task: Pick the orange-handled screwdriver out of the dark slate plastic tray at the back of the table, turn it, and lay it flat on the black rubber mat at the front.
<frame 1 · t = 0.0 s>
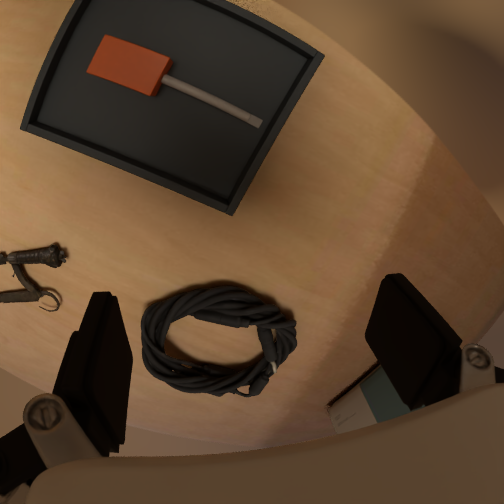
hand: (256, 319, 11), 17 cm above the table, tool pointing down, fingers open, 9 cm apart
screwdriver: (134, 67, 19), point 1 cm above the table, touching tray
tray: (164, 79, 21), on the table
radio: (384, 368, 43), on the table
cable: (218, 332, 34), on the table
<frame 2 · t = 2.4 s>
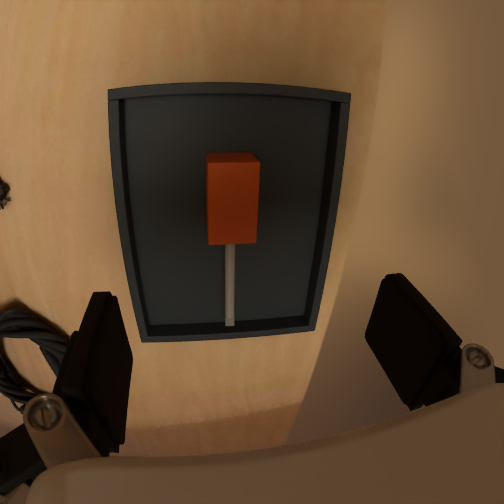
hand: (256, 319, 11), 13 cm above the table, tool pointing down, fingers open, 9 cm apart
screwdriver: (228, 189, 21), point 1 cm above the table, touching tray
tray: (227, 220, 23), on the table
cable: (40, 360, 27), on the table
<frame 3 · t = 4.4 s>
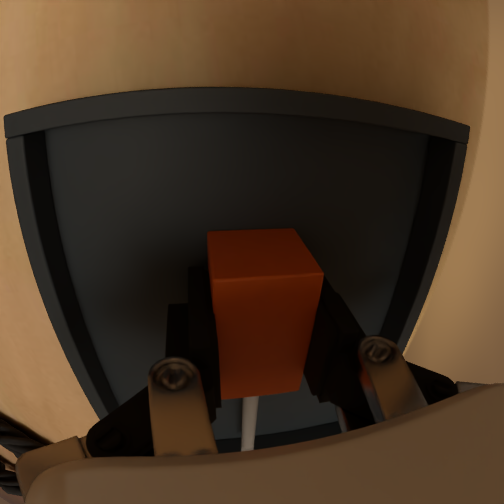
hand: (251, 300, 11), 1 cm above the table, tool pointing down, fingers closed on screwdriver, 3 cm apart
screwdriver: (248, 291, 12), point 1 cm above the table, touching gripper, tray
tray: (244, 330, 14), on the table
cable: (14, 446, 17), on the table
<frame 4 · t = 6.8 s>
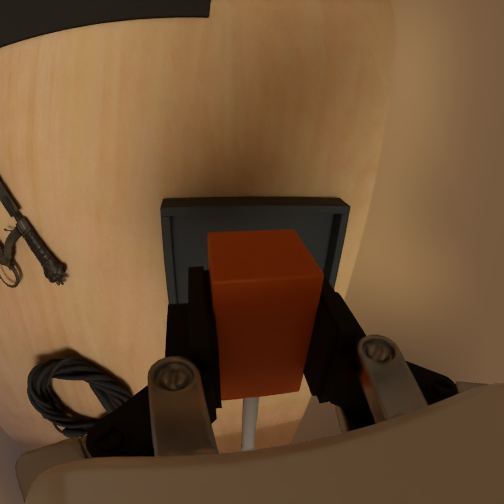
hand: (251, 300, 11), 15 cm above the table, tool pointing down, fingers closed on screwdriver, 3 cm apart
screwdriver: (249, 292, 12), point 14 cm above the table, touching gripper
tray: (250, 295, 30), on the table
cable: (85, 392, 33), on the table
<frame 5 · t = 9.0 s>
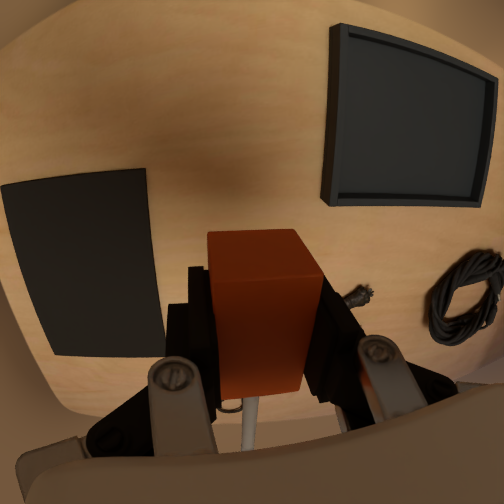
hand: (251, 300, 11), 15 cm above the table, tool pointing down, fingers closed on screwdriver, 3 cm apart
screwdriver: (249, 292, 12), point 15 cm above the table, touching gripper
tray: (419, 125, 25), on the table
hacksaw: (288, 358, 36), on the table
cable: (464, 290, 37), on the table
mat: (85, 280, 26), on the table
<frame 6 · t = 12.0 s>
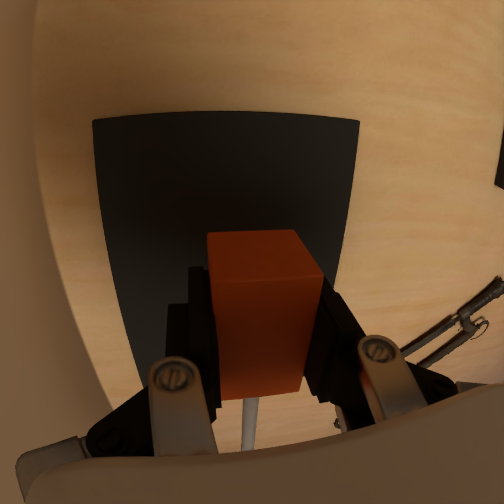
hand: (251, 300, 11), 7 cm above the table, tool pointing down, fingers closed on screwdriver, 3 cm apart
screwdriver: (248, 292, 12), point 7 cm above the table, touching gripper
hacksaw: (421, 359, 29), on the table
mat: (228, 281, 19), on the table
when the fingers open (1 cm above the table, at t = 13.8 s): screwdriver stays where it is, resting on mat.
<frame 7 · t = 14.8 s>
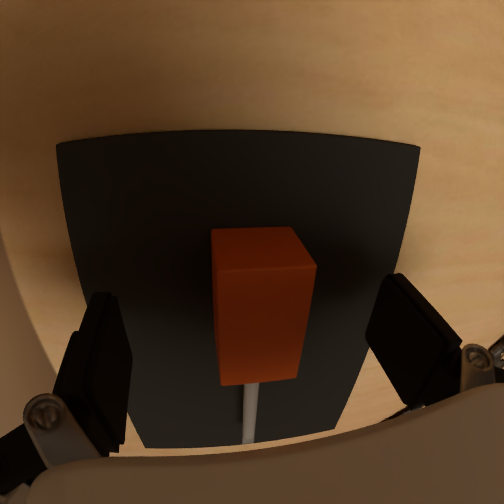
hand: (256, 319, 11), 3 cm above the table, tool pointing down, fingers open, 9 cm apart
screwdriver: (249, 285, 13), resting on mat
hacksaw: (447, 398, 24), on the table
mat: (244, 346, 15), on the table
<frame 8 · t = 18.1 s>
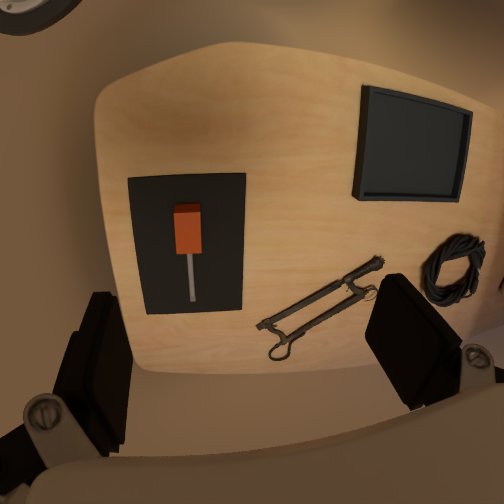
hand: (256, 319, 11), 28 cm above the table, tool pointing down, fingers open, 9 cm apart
screwdriver: (188, 223, 38), resting on mat
tray: (415, 147, 38), on the table
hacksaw: (324, 311, 50), on the table
cable: (450, 264, 51), on the table
mat: (189, 250, 40), on the table
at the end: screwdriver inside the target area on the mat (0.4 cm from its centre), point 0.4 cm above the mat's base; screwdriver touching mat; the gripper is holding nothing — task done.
